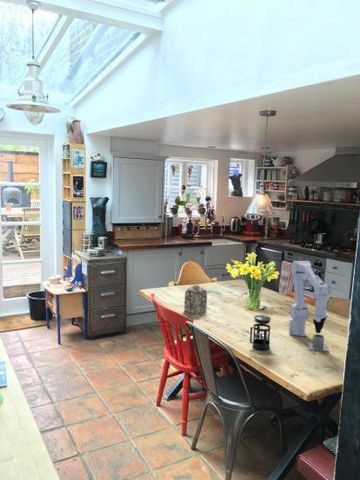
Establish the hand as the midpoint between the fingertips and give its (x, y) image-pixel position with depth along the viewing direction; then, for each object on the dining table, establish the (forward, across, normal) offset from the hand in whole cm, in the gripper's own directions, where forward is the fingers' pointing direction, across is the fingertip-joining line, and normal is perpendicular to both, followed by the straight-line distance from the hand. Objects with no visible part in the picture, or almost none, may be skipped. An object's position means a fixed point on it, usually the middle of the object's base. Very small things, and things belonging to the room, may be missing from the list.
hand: (319, 330), depth 220 cm
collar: (+9, 0, 0) cm, 9 cm away
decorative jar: (+10, +25, +86) cm, 90 cm away
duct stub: (+10, 0, 0) cm, 10 cm away
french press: (+10, -16, +28) cm, 34 cm away
